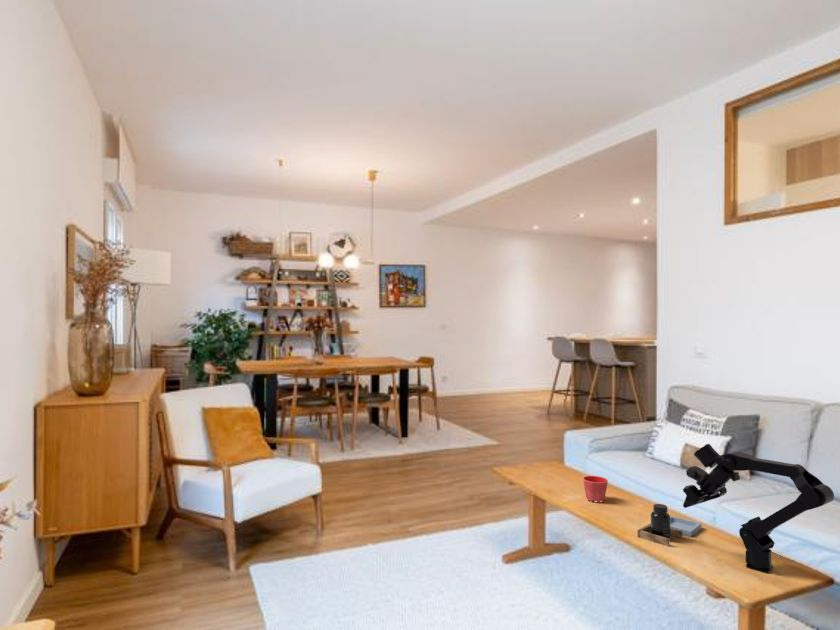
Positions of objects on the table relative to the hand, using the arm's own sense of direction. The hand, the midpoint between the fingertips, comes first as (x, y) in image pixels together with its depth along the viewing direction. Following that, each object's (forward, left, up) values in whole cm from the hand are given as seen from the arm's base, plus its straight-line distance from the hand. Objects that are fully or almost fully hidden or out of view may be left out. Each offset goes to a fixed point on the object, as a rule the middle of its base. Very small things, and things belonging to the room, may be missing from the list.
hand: (691, 504), depth 198 cm
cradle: (+10, +3, -14) cm, 18 cm away
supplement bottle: (+10, +3, -14) cm, 18 cm away
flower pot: (+48, -19, -14) cm, 54 cm away
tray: (+8, -11, -14) cm, 20 cm away
